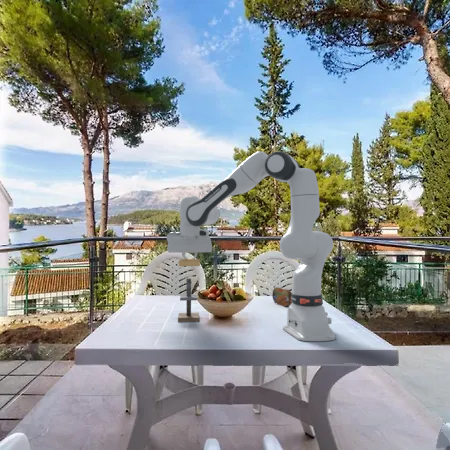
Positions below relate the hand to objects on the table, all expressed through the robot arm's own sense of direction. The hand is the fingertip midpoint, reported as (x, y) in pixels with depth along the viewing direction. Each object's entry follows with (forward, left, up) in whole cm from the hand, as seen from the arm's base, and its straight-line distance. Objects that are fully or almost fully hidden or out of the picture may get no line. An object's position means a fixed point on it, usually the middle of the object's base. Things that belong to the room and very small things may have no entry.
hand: (189, 262), depth 173 cm
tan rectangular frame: (-5, 0, 0) cm, 5 cm away
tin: (+17, -47, -24) cm, 55 cm away
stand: (-7, 0, -24) cm, 25 cm away
